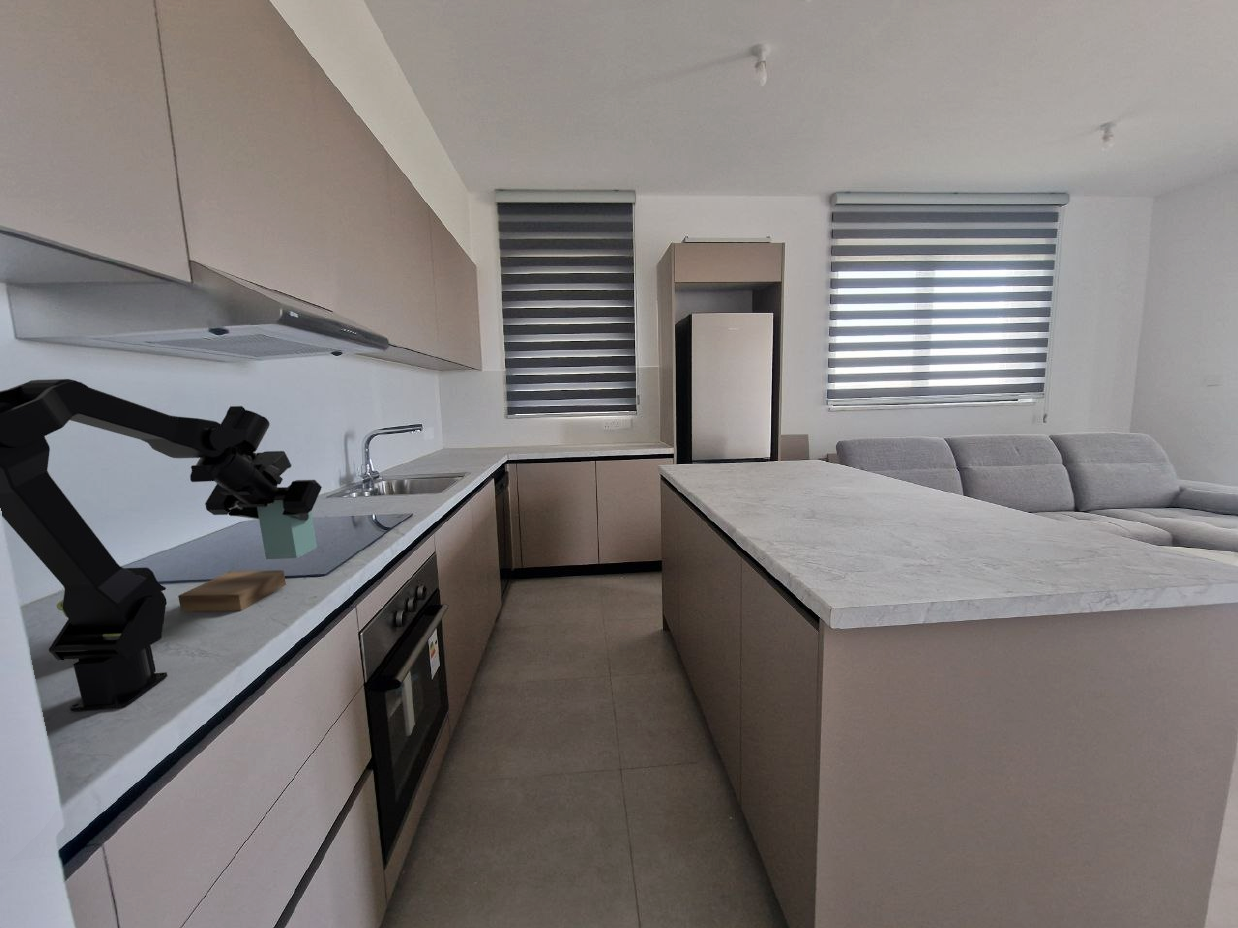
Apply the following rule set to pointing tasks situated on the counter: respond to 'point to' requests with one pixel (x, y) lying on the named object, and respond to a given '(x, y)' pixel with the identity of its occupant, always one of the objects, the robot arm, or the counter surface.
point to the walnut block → (232, 591)
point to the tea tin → (285, 532)
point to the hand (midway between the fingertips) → (291, 518)
